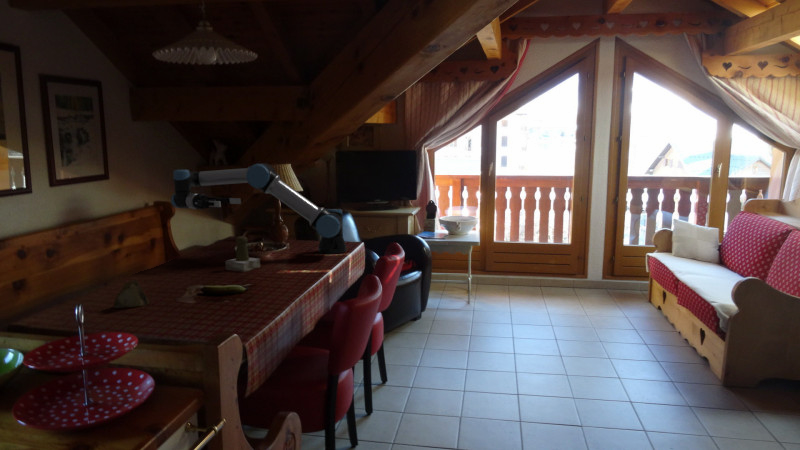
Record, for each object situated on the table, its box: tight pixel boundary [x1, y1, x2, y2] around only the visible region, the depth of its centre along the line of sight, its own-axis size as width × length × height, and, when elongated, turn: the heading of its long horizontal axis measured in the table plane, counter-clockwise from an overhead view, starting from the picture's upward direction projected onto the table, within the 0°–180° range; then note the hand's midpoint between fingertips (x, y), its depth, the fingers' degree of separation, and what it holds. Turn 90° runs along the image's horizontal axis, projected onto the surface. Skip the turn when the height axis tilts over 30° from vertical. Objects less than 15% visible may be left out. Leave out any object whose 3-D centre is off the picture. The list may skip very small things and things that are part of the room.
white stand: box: [225, 256, 261, 273], centre depth 254 cm, size 11×11×4 cm
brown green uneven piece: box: [175, 283, 252, 304], centre depth 212 cm, size 35×27×4 cm
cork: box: [235, 235, 249, 261], centre depth 253 cm, size 6×6×11 cm
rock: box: [112, 280, 149, 309], centre depth 196 cm, size 11×9×10 cm
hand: (230, 202), depth 260 cm, fingers open, 13 cm apart
